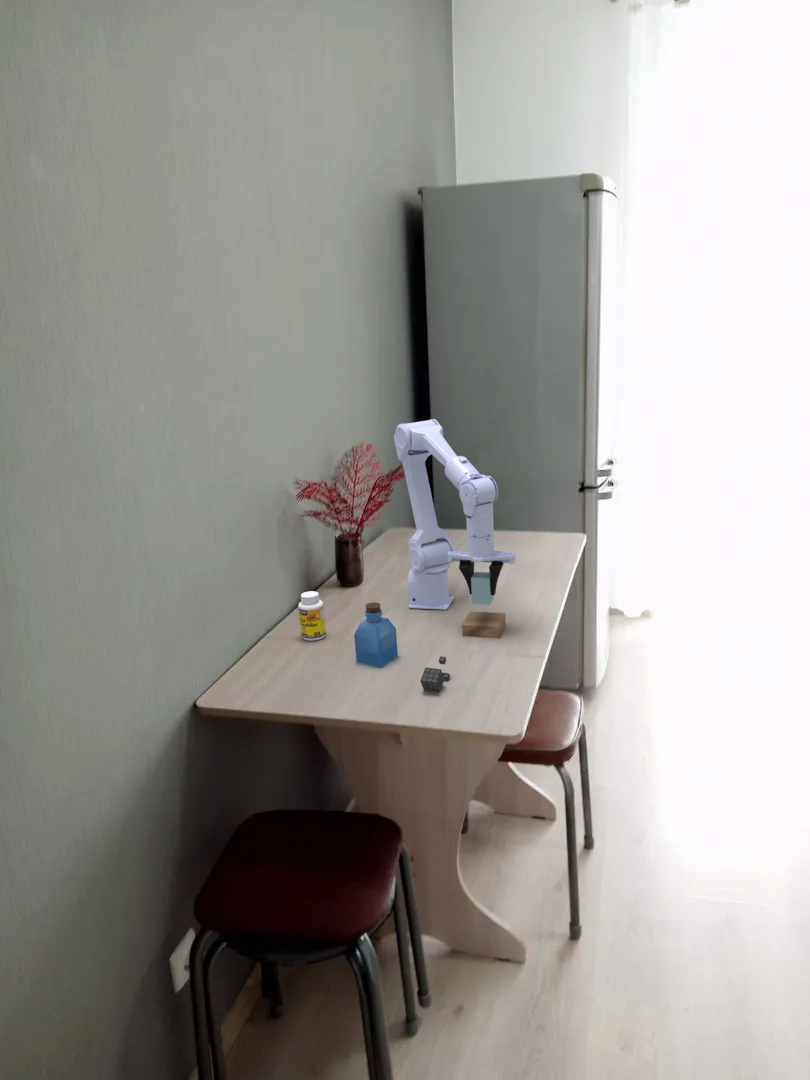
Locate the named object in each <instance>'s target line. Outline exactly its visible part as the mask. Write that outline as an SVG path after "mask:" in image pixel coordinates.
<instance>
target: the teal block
mask: <svg viewBox="0 0 810 1080" xmlns="http://www.w3.org/2000/svg"><path fill="white" fill-rule="evenodd" d="M471 589H472V595H471V605H485V606H491V604H492V603H493V601H494V599H495V598H494V597H495V595H494V596H492V595H491V579H490V571H489V572H487V571H486V572H485V571H474V574H473V576H472V577H471Z"/></svg>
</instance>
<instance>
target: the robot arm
mask: <svg viewBox="0 0 810 1080" xmlns="http://www.w3.org/2000/svg"><path fill="white" fill-rule="evenodd" d="M393 440H394V445H395V449H396V450H395V451H396V455H397V459H398V460H399V461H400V462H402V466H403V470H404V475H405V481H406V485H407V491H408V495H409V500H410V504H411V509H412V514H413V515H412V516H413V519H414V523H415V529H416V531H415V532H414V534H413V535H412V536H411V537H410V538H409V540H408V542H407V543H408V560H409V563H410V566H411V567H412V568H410V570H409V572H408V576H407V588H408V589H407V590H408V602H409V603H408V604H409V605H408V608H409V609H420V610H421V609H422V610H426V609H427V610H444V611H447V610H448V608H449V607H450V605H451V604H452V602H453V601H454V599H455V596H452V595H451V596H450V591H449V590H450V588H449V587H450V586H449V585H450V584H449V571H448V570H449V568H451V564H452V563H454V562H459V564H458V568H459V571H460V572H461V574H462V576H463V578H464V580H465V582H466V584H467V588H468V591H469V594H470V595H471V596H472V589H471V577H472V576H473V574H474V573H475V563H490V565H489V566H488V569H489V572H490V579H491V595H492V596H494V597H495V595H496V593H497V591H496V590H497V584H498V581H499V577H500V574H501V571H502V569H503V566H504V564H509V565H515V564H516V562H517V561H516V560H517V559H516V558H517V556H516V553H515V552H507V551H499V550H495V532H494V531H495V529H494V526H495V525H494V503H495V502H496V501H497V500H498V497H499V488H498V485H497V483H496V481H495V479H494V478H493V477H492V476H491V475H485V474H481V473H480V472H479V471H478V470H477V468H475V466H473V464H472V463H471V462H470V461H469V459H467V457H465V456H463V455H457V454H456V453H455V451H454V450H453V448H452V447H451V445H449V443H448V442H447V440H446V439H445V438H444V429H443V426H442V425H441V424H440V423H439V422H438V420H436V419H434V418H433V419H432V418H431V419H429V420H428V419H427V420H422V421H416V422H409V423H399V424H398V425H397V426H396V427H395V432H394V435H393ZM431 455H432V456H433V457H434V458H435V459H436V460H437V461H438V462H439V463H441V464H442V465H443V466H444V474H445V476H446V477H447V479H448V480H449V481H450V482H451V483H452V484H453V486H454V487H455V488H456V489H457V490H458V491H459V492H458V494H459V500H460V501H461V503H462V509H463V513H464V515H465V517H466V519H465V521H466V538H467V545H466V546H467V550H455V548H454V545H453V543H452V541H451V539H450V534H449V533H448V532H447V531H446V530H444V529H442V528H440V527H439V525H438V520H437V514H436V511H435V506H434V501H433V497H432V490H431V487H430V482H429V476H428V471H427V467H426V461H427V459H428V457H430V456H431ZM433 540H434V541H433ZM425 542H426V543H425Z"/></svg>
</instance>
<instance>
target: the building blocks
mask: <svg viewBox="0 0 810 1080" xmlns="http://www.w3.org/2000/svg"><path fill="white" fill-rule="evenodd" d="M438 662H439V665H446V662H447V657H446V656H441V655H440V656H439V659H438ZM450 678H451V674H450V673H448V672H443V671H442V669H441V668H435V667H434V668H433V667H426V666H425V667H424V670H423V673H422V675H421V677H420V679H419V681H420V683H421V687H422V690H423V691H427V692H428V691H429V692H432V693H434V692H435V693H440V692H441V690H442V688H443V684H444V682H445V681H449V680H450Z"/></svg>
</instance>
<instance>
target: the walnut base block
mask: <svg viewBox="0 0 810 1080" xmlns="http://www.w3.org/2000/svg"><path fill="white" fill-rule="evenodd" d="M506 624H507V623H506V613H505V612H492V611H490V612H489V611H473V610H471V611H469V613H468V614H467V616H466V617H465V619H464V621H463V622H462V625H461V632H462V637H469V638H471V637H472V638H486V639H488V638H490V639H500V636H501V635H502V633H503V631H504V628H505V626H506Z"/></svg>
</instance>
